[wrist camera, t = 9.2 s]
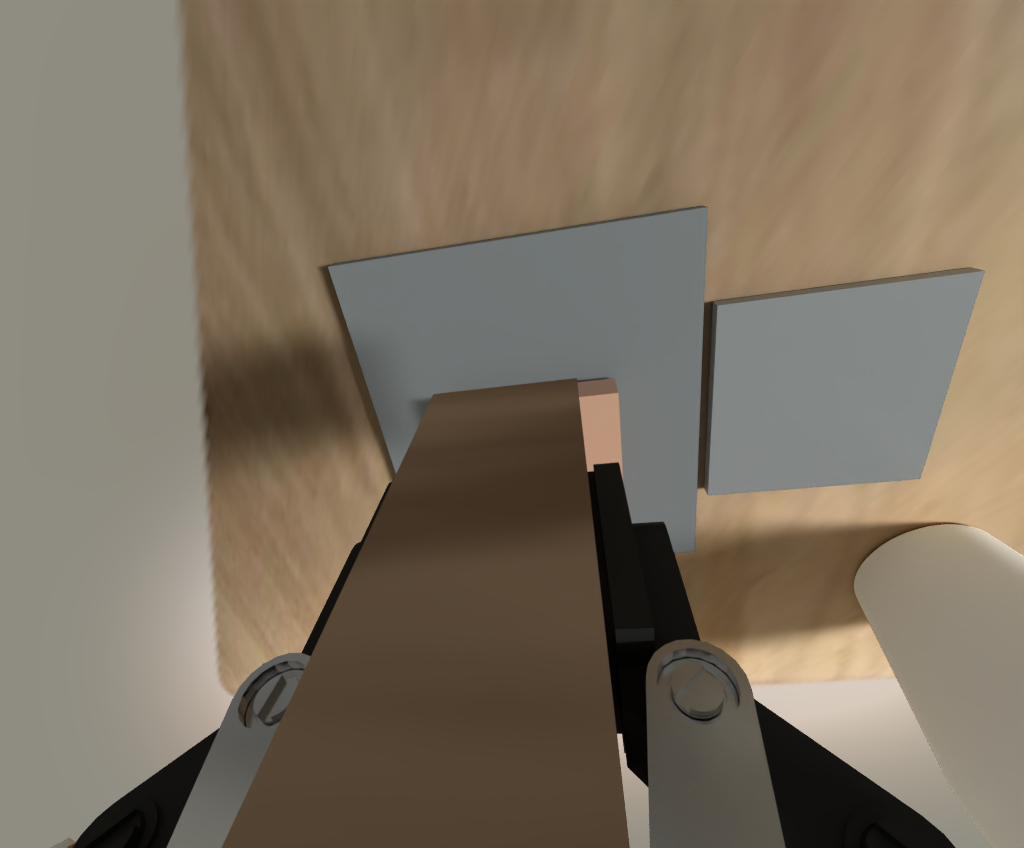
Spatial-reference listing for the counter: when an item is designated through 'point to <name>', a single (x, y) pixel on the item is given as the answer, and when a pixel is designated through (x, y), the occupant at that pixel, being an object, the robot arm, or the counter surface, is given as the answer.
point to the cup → (958, 660)
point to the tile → (600, 422)
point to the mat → (550, 336)
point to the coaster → (832, 381)
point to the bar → (460, 654)
